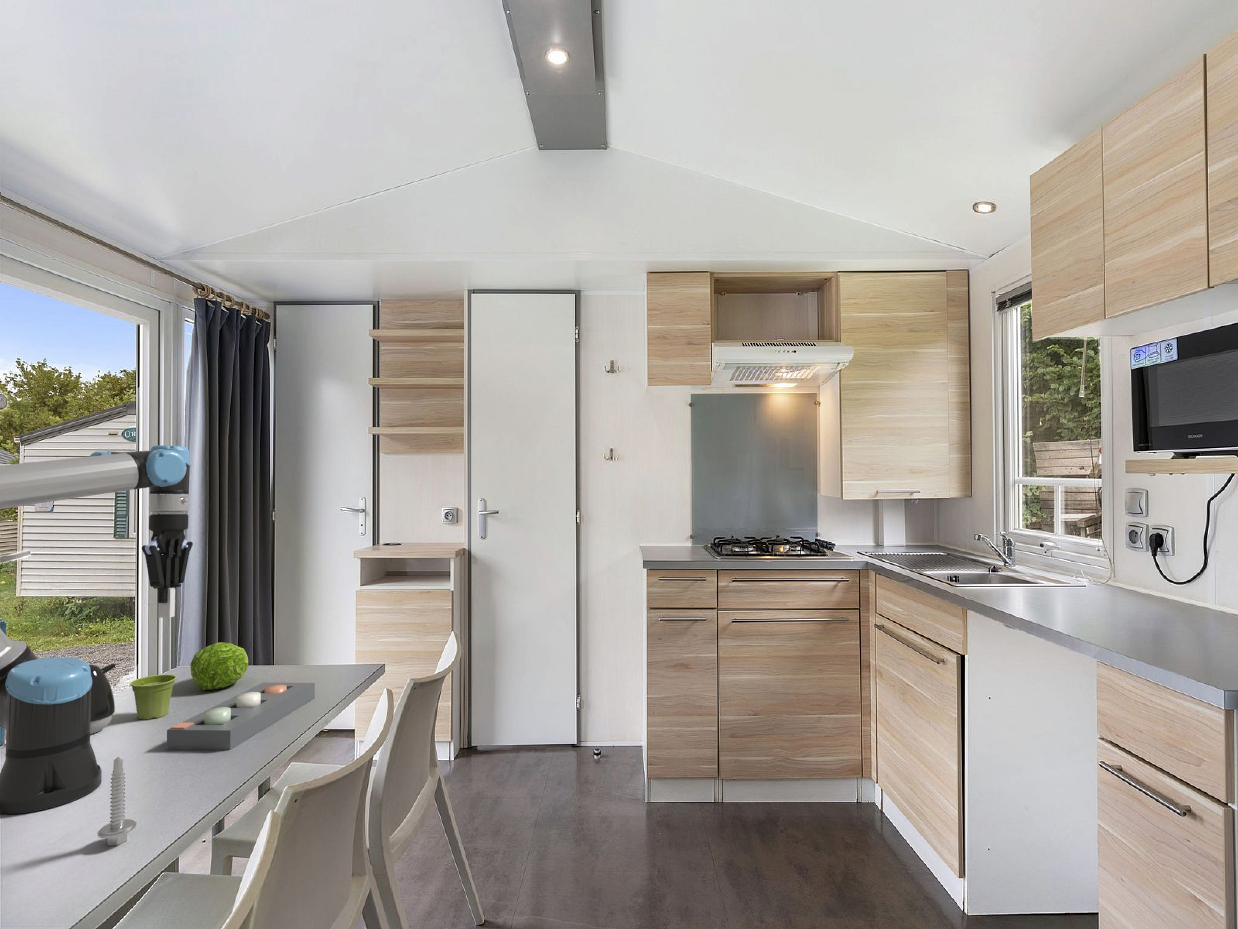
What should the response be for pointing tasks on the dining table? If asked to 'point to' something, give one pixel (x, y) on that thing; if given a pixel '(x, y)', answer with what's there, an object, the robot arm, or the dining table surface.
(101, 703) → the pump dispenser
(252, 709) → the button console
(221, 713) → the sage button
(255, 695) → the cream button
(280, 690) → the peach rounded knob
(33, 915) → the dining table surface
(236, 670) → the lettuce
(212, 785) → the dining table surface
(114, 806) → the screw
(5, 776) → the robot arm
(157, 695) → the plant pot
